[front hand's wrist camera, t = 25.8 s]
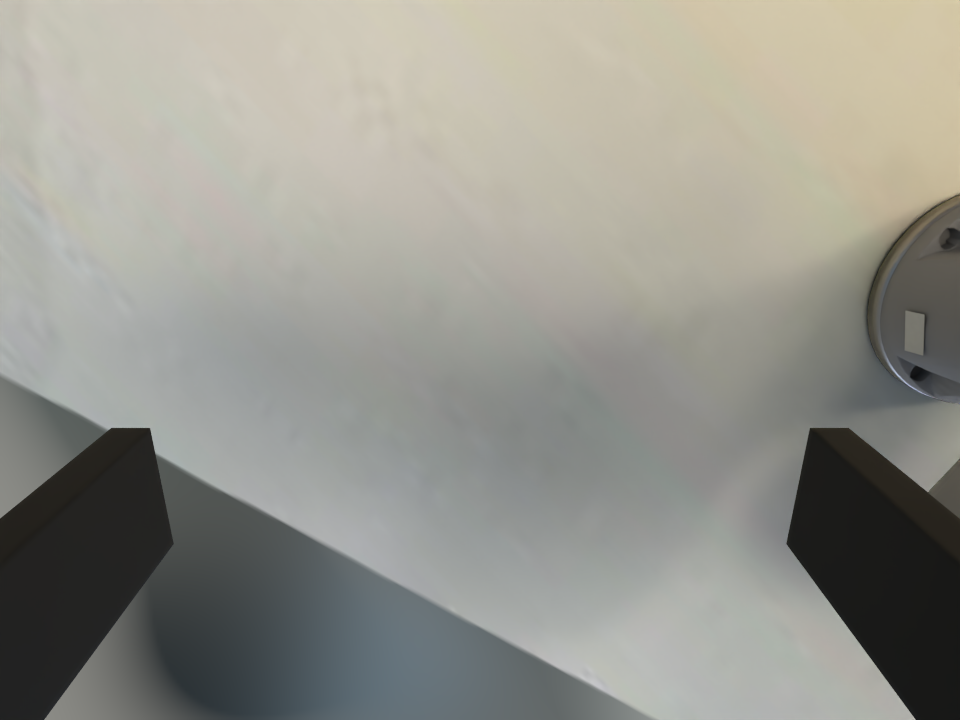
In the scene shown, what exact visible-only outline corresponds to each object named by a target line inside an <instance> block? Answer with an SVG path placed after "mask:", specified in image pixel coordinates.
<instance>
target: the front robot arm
mask: <svg viewBox="0 0 960 720" xmlns="http://www.w3.org/2000/svg"><path fill="white" fill-rule="evenodd" d="M868 331H869V336H870V340H871V343H872V346H873V349H874V351H875V353H876V355H877V357H878V358H879V360H880V362H881V363H882V364H883V366H884V367H885V368H886V369H887V370H888V371H889V372H890V373H891V374H892V375H893V376H894V377H896V378H897V379H898V380H900V381H901V382H903V383H905V384H906V385H908V386H910V387H911V388H913V389H915V390H916V391H918V392H920V393H922V394H924V395H927V396H929V397H933V398H936V399H939V400H942V401H945V402H950V403H956V404H960V195H959V196H956V197H954V198H952V199H950V200H948V201H946V202H944V203H942V204H941V205H939V206H937V207H936V208H934V209H933V210H931V211H930V212H928V213H927V214H925V215H924V216H923V217H922V218H920V219H919V220H918V221H917V222H916V223H914V224H913V225H912V226H911V227H910V228H909V229H908V230H907V231H906V232H905V233H904V234H903V236H902V237H901V238H900V239H899V240H898V241H897V243H896V244H895V245H894V246H893V248H892V249H891V250H890V252H889V254H888V255H887V257H886V258H885V260H884V262H883V263H882V265H881V267H880V269H879V271H878V274H877V276H876V278H875V281H874V284H873V287H872V290H871V294H870V298H869V305H868ZM172 545H173V539H172V534H171V529H170V524H169V519H168V514H167V509H166V504H165V500H164V495H163V490H162V485H161V480H160V475H159V470H158V465H157V460H156V455H155V450H154V445H153V441H152V436H151V431H150V428H111V429H110V430H108V431H107V432H106V433H105V434H104V435H102V436H101V437H100V438H99V439H97V440H96V441H95V442H94V443H93V444H91V445H90V446H89V447H88V448H86V449H85V450H84V451H83V452H81V453H80V454H79V455H78V456H77V457H75V458H74V459H73V460H72V461H70V462H69V463H68V464H67V465H65V466H64V467H63V468H62V469H61V470H59V471H58V472H57V473H56V474H55V475H53V476H52V477H51V478H50V479H48V480H47V481H46V482H45V483H43V484H42V485H41V486H40V487H38V488H37V489H36V490H35V491H34V492H32V493H31V494H30V495H29V496H27V497H26V498H25V499H24V500H23V501H21V502H20V503H19V504H18V505H16V506H15V507H14V508H13V509H11V510H10V511H9V512H8V513H7V514H5V515H4V516H3V517H2V518H0V720H44V719H45V718H46V716H47V715H48V714H49V712H50V711H51V710H52V708H53V707H54V706H55V704H56V703H57V701H58V700H59V699H60V697H61V696H62V695H63V693H64V692H65V690H66V689H67V688H68V687H69V685H70V684H71V682H72V681H73V680H74V678H75V677H76V676H77V674H78V673H79V672H80V670H81V669H82V668H83V666H84V665H85V663H86V662H87V661H88V659H89V658H90V657H91V655H92V654H93V653H94V651H95V650H96V649H97V647H98V646H99V644H100V643H101V642H102V640H103V639H104V638H105V636H106V635H107V634H108V632H109V631H110V630H111V628H112V627H113V625H114V624H115V623H116V621H117V620H118V619H119V617H120V616H121V615H122V613H123V612H124V611H125V609H126V608H127V606H128V605H129V604H130V602H131V601H132V600H133V598H134V597H135V596H136V594H137V593H138V591H139V590H140V589H141V587H142V586H143V585H144V583H145V582H146V581H147V579H148V578H149V577H150V575H151V574H152V573H153V571H154V570H155V568H156V567H157V566H158V564H159V563H160V562H161V560H162V559H163V558H164V556H165V555H166V553H167V552H168V551H169V549H170V548H171V547H172ZM787 545H788V547H789V548H790V549H791V551H792V552H793V553H794V555H795V556H796V558H797V559H798V560H799V562H800V563H801V564H802V566H803V567H804V568H805V570H806V571H807V573H808V574H809V575H810V577H811V578H812V579H813V581H814V582H815V583H816V585H817V586H818V587H819V589H820V590H821V592H822V593H823V594H824V596H825V597H826V598H827V600H828V601H829V602H830V604H831V605H832V606H833V608H834V609H835V611H836V612H837V613H838V615H839V616H840V617H841V619H842V620H843V621H844V623H845V624H846V625H847V627H848V628H849V630H850V631H851V632H852V634H853V635H854V636H855V638H856V639H857V640H858V642H859V643H860V644H861V646H862V647H863V649H864V650H865V651H866V653H867V654H868V655H869V657H870V658H871V659H872V661H873V662H874V663H875V665H876V666H877V668H878V669H879V670H880V672H881V673H882V674H883V676H884V677H885V678H886V680H887V681H888V682H889V684H890V685H891V687H892V688H893V689H894V691H895V692H896V693H897V695H898V696H899V697H900V699H901V700H902V701H903V703H904V704H905V706H906V707H907V708H908V710H909V711H910V712H911V714H912V715H913V716H914V718H915V719H916V720H960V459H959V460H958V461H957V462H956V463H955V464H954V466H953V467H952V468H951V469H950V470H949V471H948V472H947V473H946V474H945V475H944V476H943V477H942V478H941V479H940V480H939V481H938V482H937V483H936V484H935V485H934V486H933V488H932V489H931V490H930V491H929V492H926V491H925V490H924V489H923V488H922V487H920V486H919V485H918V484H917V483H915V482H914V481H913V480H912V479H910V478H909V477H908V476H907V475H906V474H904V473H903V472H902V471H901V470H899V469H898V468H897V467H896V466H895V465H893V464H892V463H891V462H890V461H888V460H887V459H886V458H885V457H883V456H882V455H881V454H880V453H879V452H877V451H876V450H875V449H874V448H872V447H871V446H870V445H869V444H868V443H866V442H865V441H864V440H863V439H861V438H860V437H859V436H858V435H856V434H855V433H854V432H853V431H852V430H850V429H849V428H810V431H809V436H808V441H807V445H806V450H805V455H804V460H803V465H802V470H801V475H800V480H799V485H798V490H797V495H796V499H795V504H794V509H793V514H792V519H791V524H790V529H789V534H788V539H787Z"/></svg>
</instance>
